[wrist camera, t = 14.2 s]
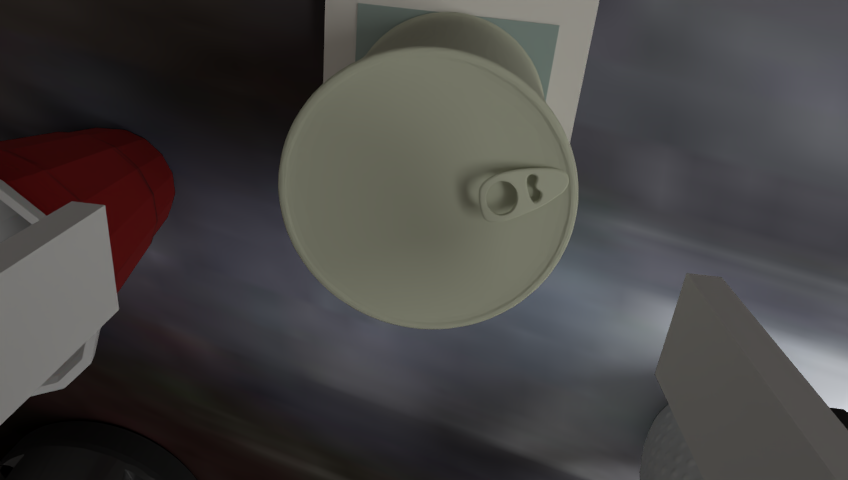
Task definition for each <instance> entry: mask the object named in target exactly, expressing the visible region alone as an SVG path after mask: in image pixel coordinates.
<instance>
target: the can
mask: <svg viewBox="0 0 848 480" xmlns="http://www.w3.org/2000/svg"><path fill="white" fill-rule="evenodd" d="M278 192H279V200H280V208H281V212H282V216H283V220H284V224H285V227H286V230H287V232H288V235H289V237H290V239H291V242H292V244H293V246H294V248H295V249H296V251H297V253H298V254H299V256H300V258H301V260H302V261H303V262H304V264H305V265H306V266H307V268H308V269H309V271H310V272H311V273H312V274H313V275H314V276H315V278H316V279H317V280H318V281H319V282H320V283H321V284H322V285H323V286H324V287H325V288H327V289H328V290H329V291H330V292H331V293H332V294H333V295H335V296H336V297H337V298H339V299H340V300H342V301H343V302H345V303H346V304H348V305H349V306H351V307H352V308H354V309H356V310H358V311H360V312H362V313H364V314H366V315H368V316H370V317H373V318H376V319H378V320H381V321H384V322H387V323H391V324H395V325H399V326H404V327H410V328H418V329H448V328H456V327H461V326H467V325H471V324H475V323H479V322H481V321H484V320H487V319H490V318H492V317H494V316H497V315H499V314H501V313H503V312H505V311H507V310H508V309H510V308H512V307H514V306H515V305H517V304H518V303H520V302H521V301H523V300H524V299H525V298H526V297H527V296H529V295H530V294H531V293H532V292H534V291H535V290H536V289H537V288H538V287H539V286H540V285H541V284H542V283H543V282H544V281H545V279H546V278H547V277H548V276H549V275H550V273H551V272H552V271H553V269H554V268H555V266H556V265H557V263H558V262H559V260H560V258H561V256H562V255H563V253H564V251H565V249H566V247H567V244H568V242H569V240H570V237H571V234H572V231H573V228H574V223H575V218H576V214H577V207H578V176H577V169H576V164H575V160H574V156H573V152H572V149H571V146H570V144H569V141H568V138H567V136H566V134H565V132H564V130H563V127H562V126H561V124H560V122H559V121H558V119H557V117H556V116H555V114H554V113H553V111H552V110H551V109H550V107H549V106H548V105H547V103H546V101H545V99H544V93H543V88H542V84H541V81H540V78H539V75H538V73H537V70H536V68H535V66H534V64H533V62H532V60H531V59H530V57H529V56H528V54H527V53H526V51H525V50H524V49H523V48H522V46H521V45H520V44H519V43H518V42H517V41H516V40H515V39H514V38H513V37H512V36H511V35H510V34H508V33H507V32H506V31H504V30H503V29H501V28H500V27H498V26H497V25H495V24H493V23H491V22H489V21H487V20H485V19H482V18H479V17H476V16H473V15H469V14H465V13H458V12H437V13H429V14H424V15H420V16H417V17H414V18H411V19H409V20H407V21H404V22H403V23H401V24H399V25H397V26H395V27H394V28H392V29H391V30H390V31H388V32H387V33H386V34H384V35H383V36H382V37H381V38H380V39H379V40H378V41H377V42H376V43H375V44H374V45H373V46H372V47H371V49H370V50H369V51H368V53H367V54H366V55H365V56H364V57H363V58H361V59H360V60H358V61H356V62H354V63H352V64H349V65H348V66H346V67H345V68H343V69H341V70H340V71H338V72H337V73H335V74H334V75H333V76H331V77H330V78H329V79H328V80H326V81H325V82H324V83H323V84H322V85H321V86H320V87H319V88H318V89H317V90H316V91H315V92H314V93H313V94H312V95H311V96H310V98H309V99H308V100H307V101H306V103H305V104H304V106H303V107H302V108H301V110H300V111H299V113H298V115H297V116H296V118H295V120H294V122H293V124H292V126H291V128H290V130H289V132H288V135H287V137H286V140H285V143H284V147H283V151H282V155H281V160H280V166H279V180H278Z"/></svg>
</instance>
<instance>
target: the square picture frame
mask: <svg viewBox="0 0 848 480" xmlns="http://www.w3.org/2000/svg"><path fill="white" fill-rule="evenodd" d="M598 4H599V0H325V31H324V73H323V83H324V82H325V81H326V80H328V79H329V78H330V77H331V76H333V75H334V74H335V73H337V72H338V71H340V70H341V69H343V68H345V67H346V66H348V65H349V64H352V63H354V62H356V61H358V60H360V59H361V58H363V57H364V56H365V55H366V54H367V53H368V51H369V50H370V49H371V47H372V46H373V45H374V44H375V43H376V42H377V41H378V40H379V39H380V38H381V37H382V36H383V35H384V34H386V33H387V32H388V31H390V30H391V29H392V28H394V27H395V26H397V25H399V24H401V23H403V22H404V21H407V20H409V19H411V18H414V17H417V16H420V15H424V14H429V13H437V12H458V13H465V14H469V15H473V16H476V17H479V18H482V19H485V20H487V21H489V22H491V23H493V24H495V25H497V26H498V27H500V28H501V29H503V30H504V31H506V32H507V33H508V34H510V35H511V36H512V37H513V38H514V39H515V40H516V41H517V42H518V43H519V44H520V45H521V46H522V48H523V49H524V50H525V51H526V53H527V54H528V56H529V57H530V59H531V60H532V62H533V64H534V66H535V68H536V70H537V73H538V75H539V78H540V81H541V84H542V88H543V93H544V99H545V101H546V103H547V105H548V106H549V107H550V109H551V110H552V111H553V113H554V114H555V116H556V117H557V119H558V121H559V122H560V124H561V126H562V127H563V130H564V132H565V134H566V136H567V138H568V141H569V144H570V139H571V134H572V129H573V125H574V120H575V115H576V110H577V105H578V101H579V96H580V91H581V86H582V81H583V76H584V72H585V67H586V62H587V57H588V52H589V48H590V43H591V38H592V33H593V28H594V24H595V19H596V14H597V9H598Z"/></svg>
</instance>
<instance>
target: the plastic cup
mask: <svg viewBox="0 0 848 480" xmlns="http://www.w3.org/2000/svg"><path fill="white" fill-rule="evenodd" d="M174 195H175V188H174V181H173V174H172V172H171V170H170V168H169V166H168V165H167V163H166V161H165V159H164V157H163V155H162V154H161V153H160V152H159V151H158V150H157V149H155V148H154V147H153V146H152V145H151V144H150V143H149V142H148V141H147V140H146V139H144V138H142V137H140V136H137V135H135V134H133V133H131V132H129V131H127V130H119V129H106V128H92V129H86V130H80V131H74V132H54V133H48V134H42V135H36V136H30V137H24V138H18V139H12V140H6V141H0V243H1V242H3V241H5V240H6V239H8V238H10V237H12V236H13V235H15V234H17V233H18V232H20V231H22V230H24V229H25V228H27V227H29V226H30V225H32V224H34V223H36V222H37V221H39V220H41V219H42V218H44V217H46V216H47V215H49V214H51V213H53V212H54V211H56V210H58V209H59V208H61V207H63V206H65V205H66V204H68V203H70V202H71V201H74V202H82V203H91V204H99V205H105V208H106V216H107V223H108V231H109V238H110V246H111V253H112V261H113V268H114V276H115V283H116V291H117V293H118V291H119V290H120V289H121V287H122V286H123V284H124V283H125V281H126V280H127V278H128V277H129V275H130V274H131V272H132V271H133V269H134V268H135V266H136V265H137V263H138V262H139V260H140V259H141V257H142V256H143V255H144V253H145V252H146V250H147V249H148V247H149V246H150V244H151V242H152V239H153V236H154V235H155V234H156V232H157V231H158V229H159V228H160V227H161V225H162V224H163V223H164V221H165V220H166V218H167V217H168V214H169V211H170V209H171V205H172V202H173V199H174ZM99 332H100V329H99V330H98V331H97V332H96V333H94V334H93V335H92V336H91V337H90V338H89V339H88V340H87V341H86V342H85V343H84V344H83V345H82V346H81V347H80V348H79V349H78V350H77V351H76V352H75V353H74V354H73V355H72V356H71V357H70V358H69V359H68V360H67V361H66V362H65V363H64V364H63V365H62V366H61V367H60V368H59V369H58V370H57V371H56V372H55V373H53V374H52V375H51V376H50V377H49V378H48V379H47V380H46V381H45V382H44V383H43V384H42V385H41V386H40V387H39V388H38V389H37V390H36V391H35V392H34V393H33V394H32V395H31V396H34V395H38V394H42V393H46V392H51V391H55V390H59V389H63V388H65V387H66V386H67V385H68V384H69V383H71V382H72V381H73V380H74V379H75V378H76V377H77V376H78V375H79V374H80V373H81V372H82V371H83V370H84V369H86V368H87V367H88V366H89V365H90V364H91V362H92V360H93V357H94V355H95V350H96V346H97V341H98V336H99Z"/></svg>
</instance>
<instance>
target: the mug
mask: <svg viewBox="0 0 848 480" xmlns="http://www.w3.org/2000/svg"><path fill="white" fill-rule="evenodd" d="M640 480H704V479H703V477H702V475H701V473H700V471H699V469H698V466H697V464H696V462H695V460H694V458H693V456H692V454H691V451H690V449H689V447H688V445H687V443H686V441H685V438H684V436H683V434H682V432H681V430H680V428H679V426H678V423H677V421H676V419H675V417H674V415H673V413H672V410H671V408H670V406H669V404H668V405H667V406H666V407H665V408H663V410H662V411H661V412H660V413H659V414H658V415H657V417H656V418H655V420H654V422H653V424H652V426H651V428H650V430H649V432H648V435H647V438H646V441H645V443H644V448H643V453H642V457H641V468H640Z"/></svg>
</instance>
